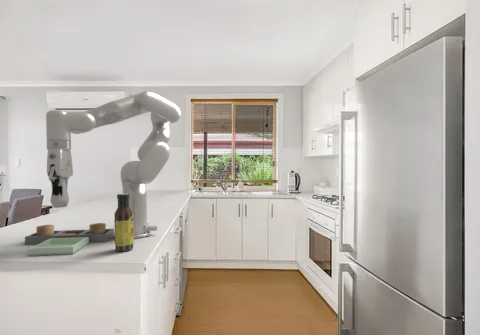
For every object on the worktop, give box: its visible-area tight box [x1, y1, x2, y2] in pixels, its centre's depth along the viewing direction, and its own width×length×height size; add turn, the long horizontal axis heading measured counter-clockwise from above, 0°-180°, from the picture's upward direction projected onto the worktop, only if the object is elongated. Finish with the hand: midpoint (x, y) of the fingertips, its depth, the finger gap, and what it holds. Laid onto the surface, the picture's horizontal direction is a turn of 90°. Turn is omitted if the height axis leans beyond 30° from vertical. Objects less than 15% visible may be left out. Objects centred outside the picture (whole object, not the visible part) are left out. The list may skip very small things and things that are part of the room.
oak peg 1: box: [35, 224, 55, 236], centre depth 123 cm, size 6×6×6 cm
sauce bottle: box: [113, 193, 135, 253], centre depth 109 cm, size 6×6×20 cm
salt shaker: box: [50, 175, 70, 209], centre depth 110 cm, size 6×6×13 cm
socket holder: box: [24, 228, 115, 246], centre depth 124 cm, size 30×10×3 cm, turn 96°
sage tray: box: [28, 237, 90, 257], centre depth 111 cm, size 14×14×2 cm
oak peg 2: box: [89, 222, 107, 234], centre depth 125 cm, size 6×6×6 cm
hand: (59, 196), depth 110 cm, fingers closed on salt shaker, 3 cm apart
